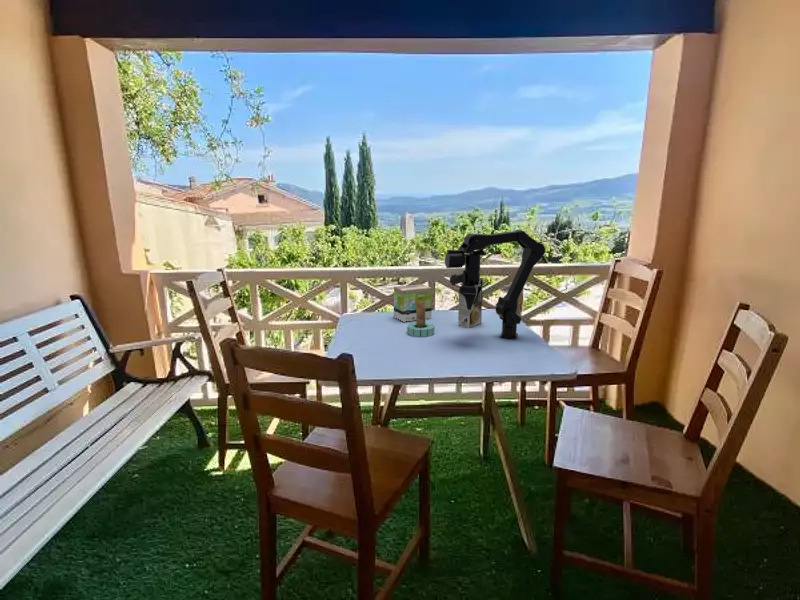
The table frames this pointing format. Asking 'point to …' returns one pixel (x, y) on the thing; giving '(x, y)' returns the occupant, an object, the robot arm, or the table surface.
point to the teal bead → (420, 330)
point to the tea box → (411, 301)
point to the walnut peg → (420, 314)
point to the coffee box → (470, 312)
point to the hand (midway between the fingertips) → (471, 307)
